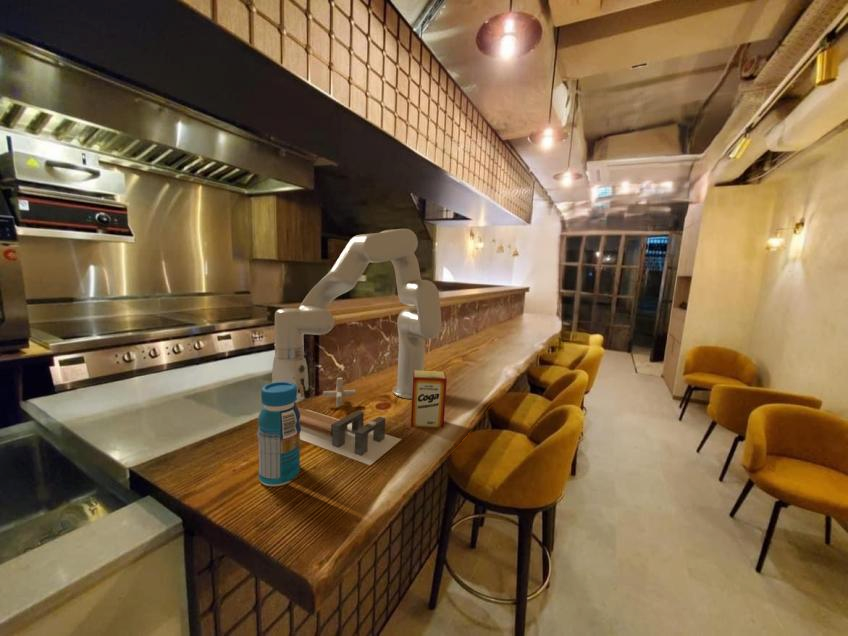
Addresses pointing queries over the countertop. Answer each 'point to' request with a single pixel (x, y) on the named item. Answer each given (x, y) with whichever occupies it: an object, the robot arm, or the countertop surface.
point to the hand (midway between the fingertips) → (289, 414)
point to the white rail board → (350, 444)
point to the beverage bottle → (279, 434)
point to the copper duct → (317, 422)
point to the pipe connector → (339, 392)
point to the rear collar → (339, 427)
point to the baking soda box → (428, 398)
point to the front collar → (362, 434)
